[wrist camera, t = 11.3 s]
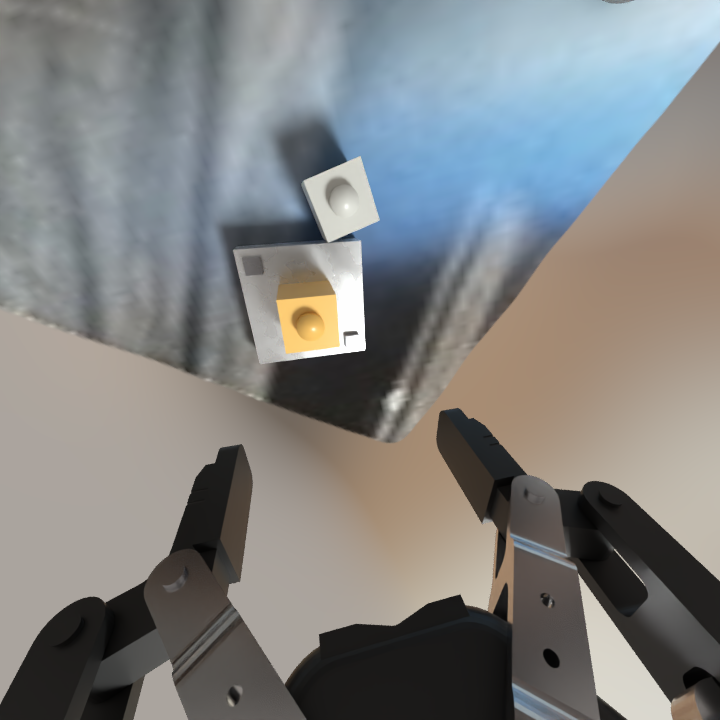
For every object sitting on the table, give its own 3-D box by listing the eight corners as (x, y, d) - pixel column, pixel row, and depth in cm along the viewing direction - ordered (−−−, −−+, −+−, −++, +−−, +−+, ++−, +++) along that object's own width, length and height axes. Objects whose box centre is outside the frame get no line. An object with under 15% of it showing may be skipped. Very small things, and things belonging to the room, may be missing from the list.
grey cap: (301, 184, 28) (303, 180, 23) (348, 164, 28) (362, 154, 23) (322, 236, 31) (329, 243, 25) (365, 217, 31) (382, 220, 25)
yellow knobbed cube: (278, 284, 29) (275, 303, 24) (328, 280, 30) (337, 297, 24) (286, 331, 31) (285, 357, 26) (332, 326, 32) (341, 350, 27)
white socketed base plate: (237, 245, 29) (224, 256, 23) (354, 237, 31) (370, 245, 25) (262, 352, 35) (256, 383, 29) (359, 339, 37) (373, 366, 31)
